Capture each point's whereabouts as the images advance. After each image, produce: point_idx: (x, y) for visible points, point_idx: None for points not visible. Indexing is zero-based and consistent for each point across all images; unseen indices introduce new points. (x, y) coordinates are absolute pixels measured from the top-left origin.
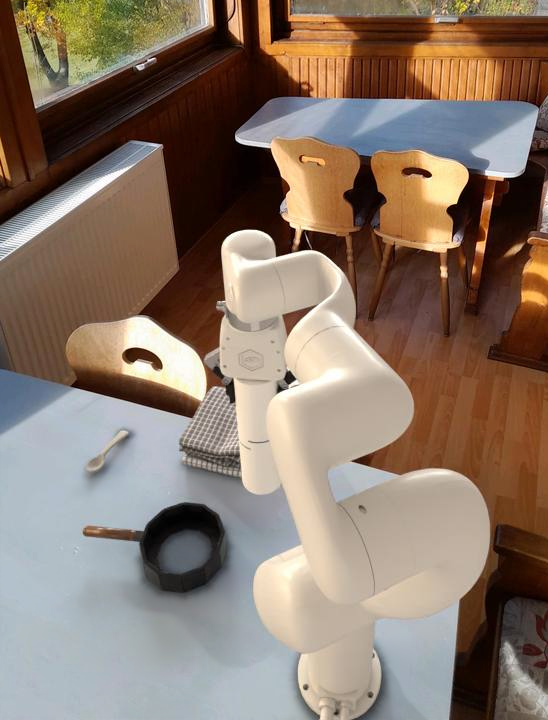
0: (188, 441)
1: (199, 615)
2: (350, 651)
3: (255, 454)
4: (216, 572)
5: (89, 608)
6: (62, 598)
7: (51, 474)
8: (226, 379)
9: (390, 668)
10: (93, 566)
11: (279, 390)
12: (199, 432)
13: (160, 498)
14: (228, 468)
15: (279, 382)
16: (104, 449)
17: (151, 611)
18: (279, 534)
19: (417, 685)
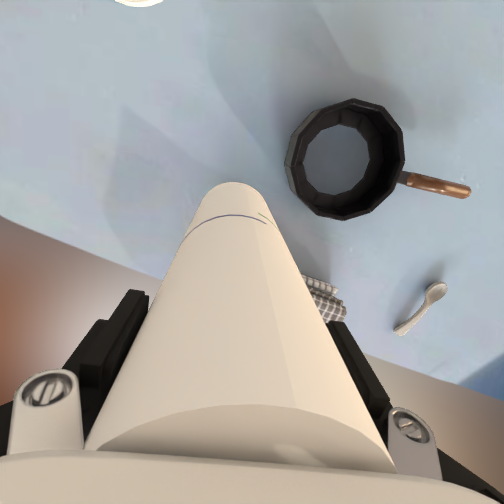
0: (335, 309)
1: (322, 65)
2: None
3: (246, 205)
4: (298, 127)
5: (454, 96)
6: (483, 114)
7: (480, 284)
8: (416, 443)
9: None
10: (444, 155)
11: (96, 360)
12: None
13: (361, 242)
14: None
15: (66, 419)
16: (426, 310)
17: (381, 80)
18: (215, 176)
19: None
